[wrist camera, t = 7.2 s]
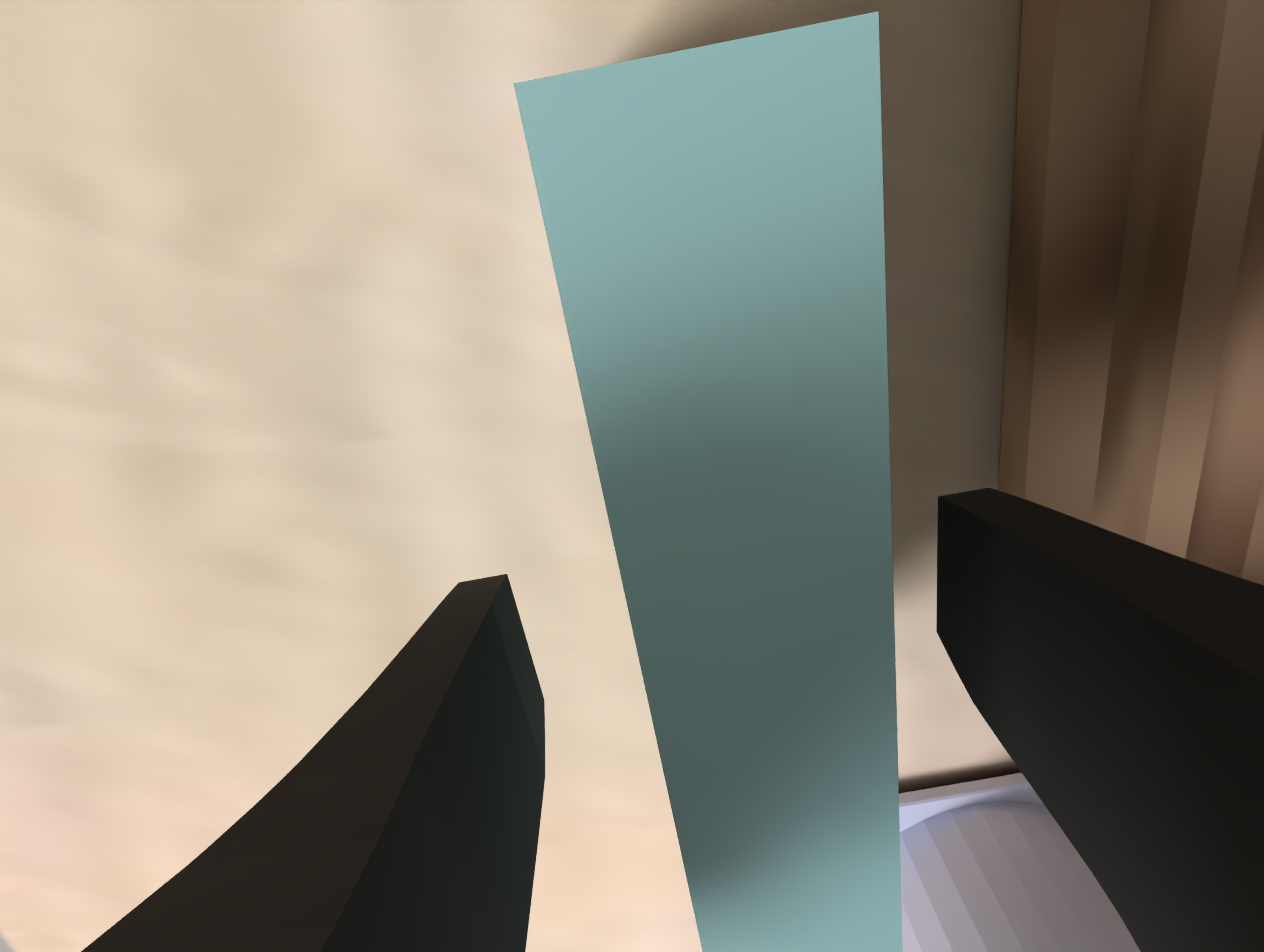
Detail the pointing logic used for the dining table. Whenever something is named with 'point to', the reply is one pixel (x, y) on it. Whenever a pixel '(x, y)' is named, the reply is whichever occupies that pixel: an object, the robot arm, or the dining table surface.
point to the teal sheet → (745, 453)
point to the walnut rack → (1140, 274)
